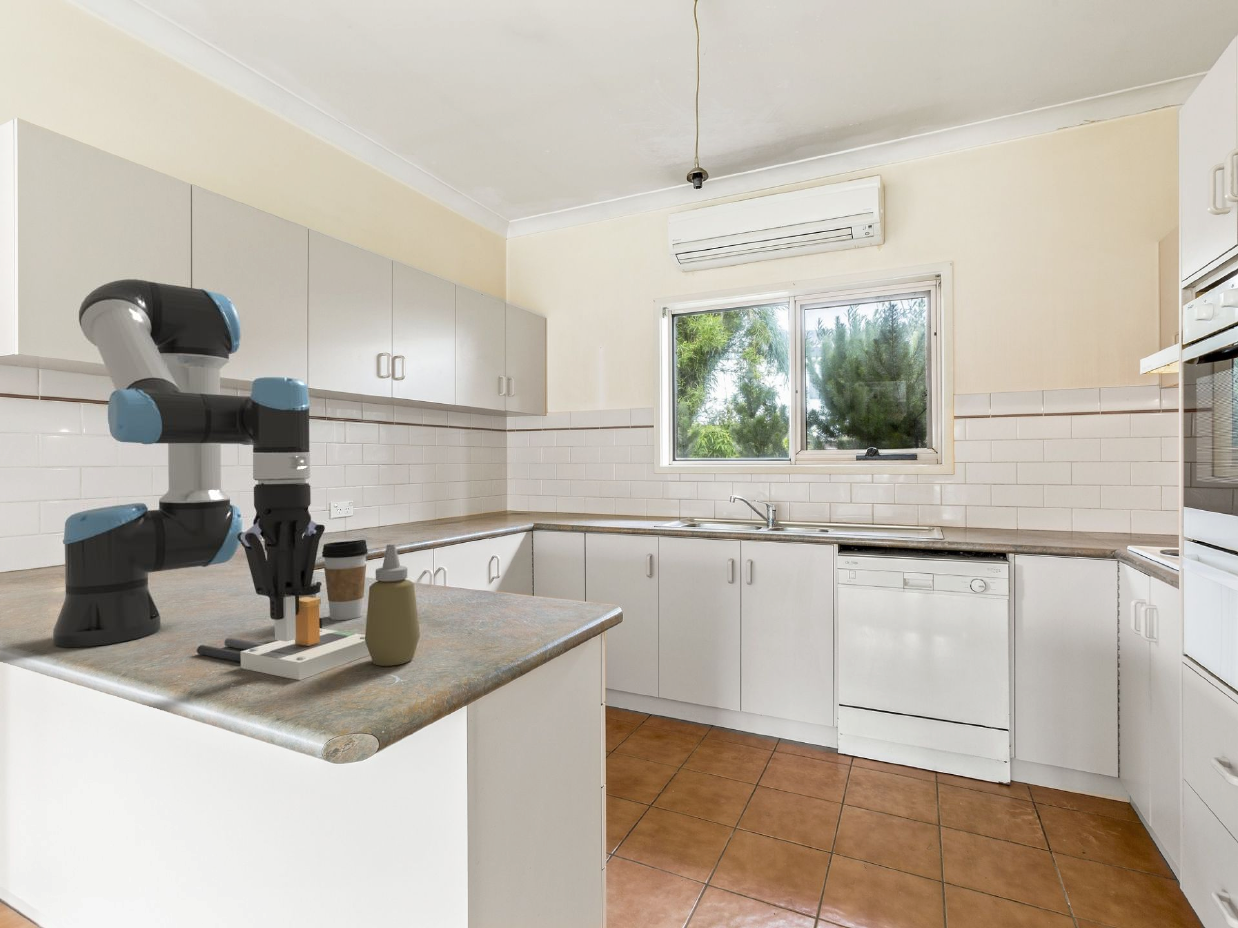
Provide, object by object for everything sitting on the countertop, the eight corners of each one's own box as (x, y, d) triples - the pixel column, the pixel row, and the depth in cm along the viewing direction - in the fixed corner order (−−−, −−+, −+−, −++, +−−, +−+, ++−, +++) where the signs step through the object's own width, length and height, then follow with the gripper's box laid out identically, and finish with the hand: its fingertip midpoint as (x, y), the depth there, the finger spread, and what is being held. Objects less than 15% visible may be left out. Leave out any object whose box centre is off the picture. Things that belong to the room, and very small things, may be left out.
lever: (293, 643, 98) (292, 600, 98) (306, 639, 101) (305, 596, 100) (308, 646, 97) (307, 601, 97) (321, 642, 99) (320, 598, 99)
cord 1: (196, 654, 103) (196, 646, 103) (205, 652, 104) (205, 643, 104) (247, 665, 97) (247, 656, 97) (256, 662, 98) (256, 653, 98)
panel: (240, 668, 96) (240, 650, 96) (320, 642, 108) (320, 627, 108) (299, 680, 90) (299, 661, 90) (376, 652, 103) (376, 635, 103)
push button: (293, 642, 109) (292, 584, 109) (275, 638, 112) (274, 581, 112) (328, 632, 115) (327, 577, 115) (310, 629, 118) (309, 575, 117)
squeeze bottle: (388, 673, 93) (386, 549, 92) (353, 664, 97) (351, 546, 97) (431, 657, 100) (429, 543, 99) (397, 650, 104) (395, 540, 104)
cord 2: (224, 647, 107) (224, 638, 107) (232, 644, 108) (232, 636, 108) (274, 656, 101) (274, 647, 101) (282, 654, 102) (282, 645, 102)
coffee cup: (358, 621, 122) (357, 543, 122) (314, 622, 123) (313, 544, 122) (375, 611, 131) (374, 538, 131) (335, 611, 131) (333, 538, 131)
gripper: (257, 484, 88) (260, 654, 88) (336, 480, 99) (339, 631, 100) (223, 483, 91) (226, 648, 91) (303, 480, 103) (306, 625, 103)
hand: (285, 639), depth 95 cm, fingers closed
